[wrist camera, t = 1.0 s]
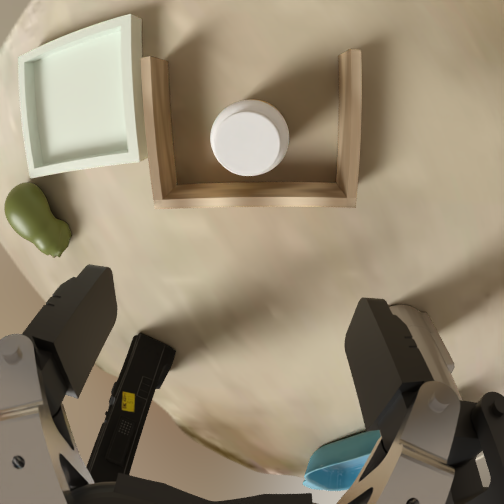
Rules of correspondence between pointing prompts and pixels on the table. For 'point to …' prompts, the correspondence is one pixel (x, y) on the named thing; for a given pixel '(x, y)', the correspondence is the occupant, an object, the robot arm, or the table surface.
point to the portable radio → (129, 408)
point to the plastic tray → (84, 99)
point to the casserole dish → (340, 462)
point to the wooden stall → (251, 192)
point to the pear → (36, 219)
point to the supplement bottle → (249, 137)
